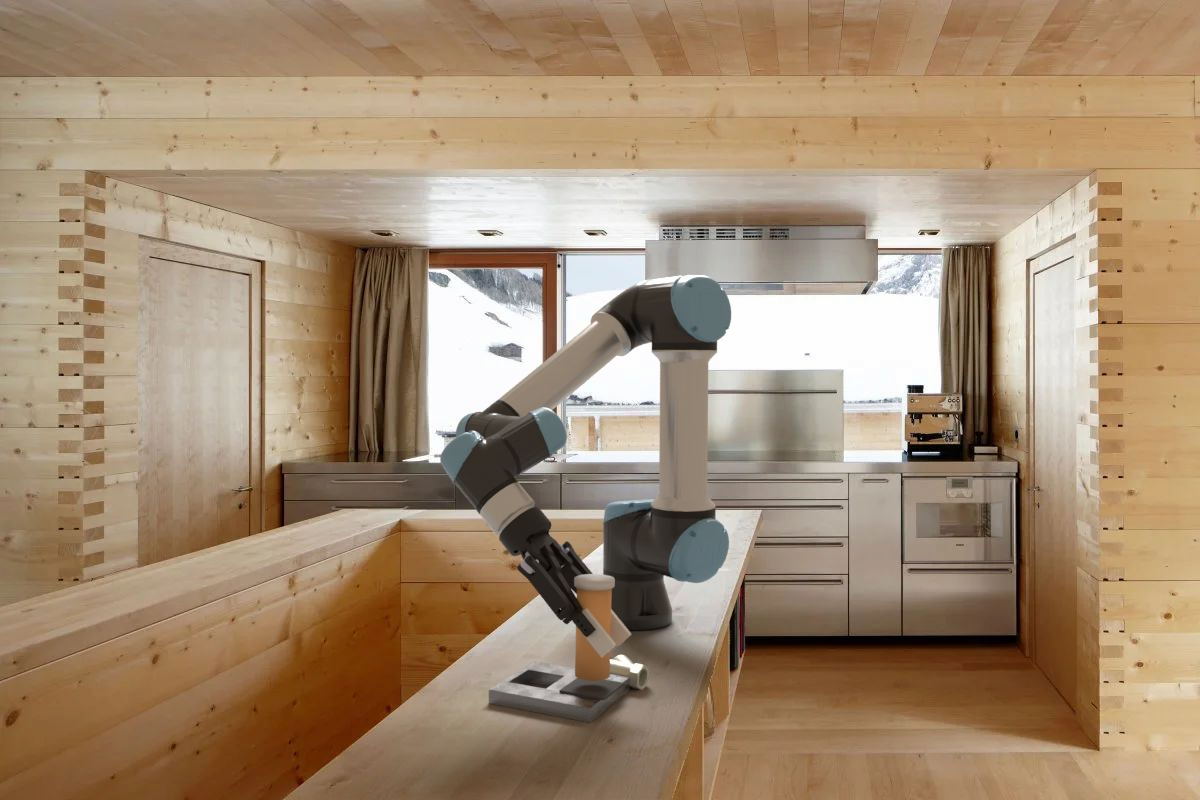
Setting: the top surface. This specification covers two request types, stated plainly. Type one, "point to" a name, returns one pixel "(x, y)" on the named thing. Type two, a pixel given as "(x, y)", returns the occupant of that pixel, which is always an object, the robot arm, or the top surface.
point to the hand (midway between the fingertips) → (616, 645)
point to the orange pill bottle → (597, 599)
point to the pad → (592, 688)
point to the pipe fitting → (630, 671)
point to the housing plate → (552, 693)
